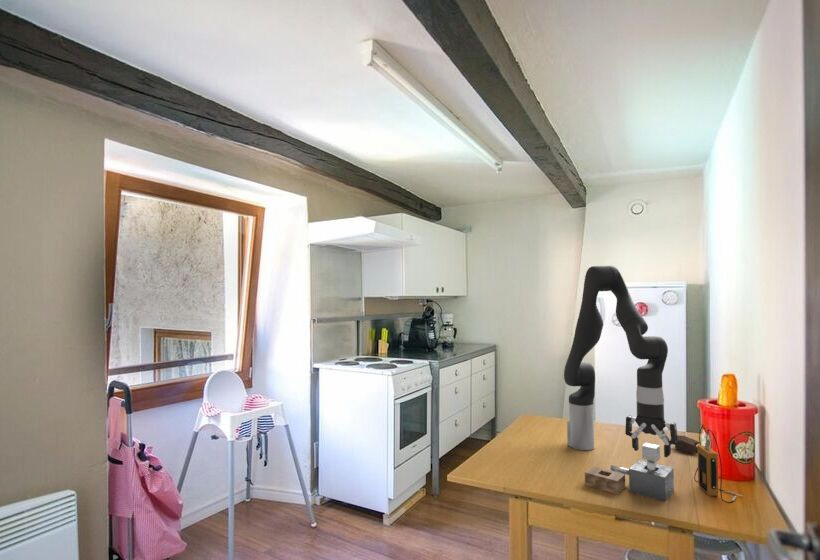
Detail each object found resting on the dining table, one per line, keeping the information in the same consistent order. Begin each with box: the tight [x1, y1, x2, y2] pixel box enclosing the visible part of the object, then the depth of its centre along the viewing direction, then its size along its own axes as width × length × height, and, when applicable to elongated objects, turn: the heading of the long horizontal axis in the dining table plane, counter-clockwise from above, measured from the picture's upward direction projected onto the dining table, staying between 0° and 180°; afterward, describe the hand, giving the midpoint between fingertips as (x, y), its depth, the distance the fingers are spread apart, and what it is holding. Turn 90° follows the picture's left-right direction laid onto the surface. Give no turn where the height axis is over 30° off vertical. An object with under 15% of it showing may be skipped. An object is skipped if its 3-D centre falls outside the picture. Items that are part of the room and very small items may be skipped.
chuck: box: [609, 459, 675, 502], centre depth 143 cm, size 17×10×7 cm, turn 47°
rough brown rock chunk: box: [673, 434, 701, 455], centre depth 175 cm, size 6×7×10 cm
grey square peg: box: [641, 442, 661, 471], centre depth 141 cm, size 4×4×12 cm
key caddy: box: [584, 465, 626, 495], centre depth 145 cm, size 10×7×4 cm
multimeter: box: [693, 424, 743, 504], centre depth 140 cm, size 15×10×20 cm
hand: (651, 453), depth 141 cm, fingers open, 8 cm apart
